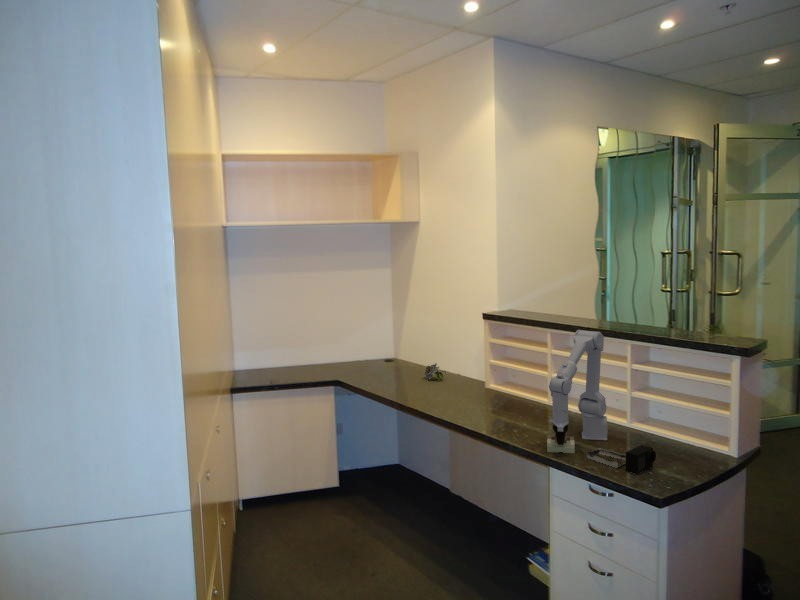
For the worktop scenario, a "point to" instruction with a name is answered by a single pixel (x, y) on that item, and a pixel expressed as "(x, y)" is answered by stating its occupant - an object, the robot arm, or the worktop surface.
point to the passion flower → (433, 372)
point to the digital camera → (640, 459)
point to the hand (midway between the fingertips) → (560, 444)
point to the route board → (564, 448)
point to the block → (564, 440)
